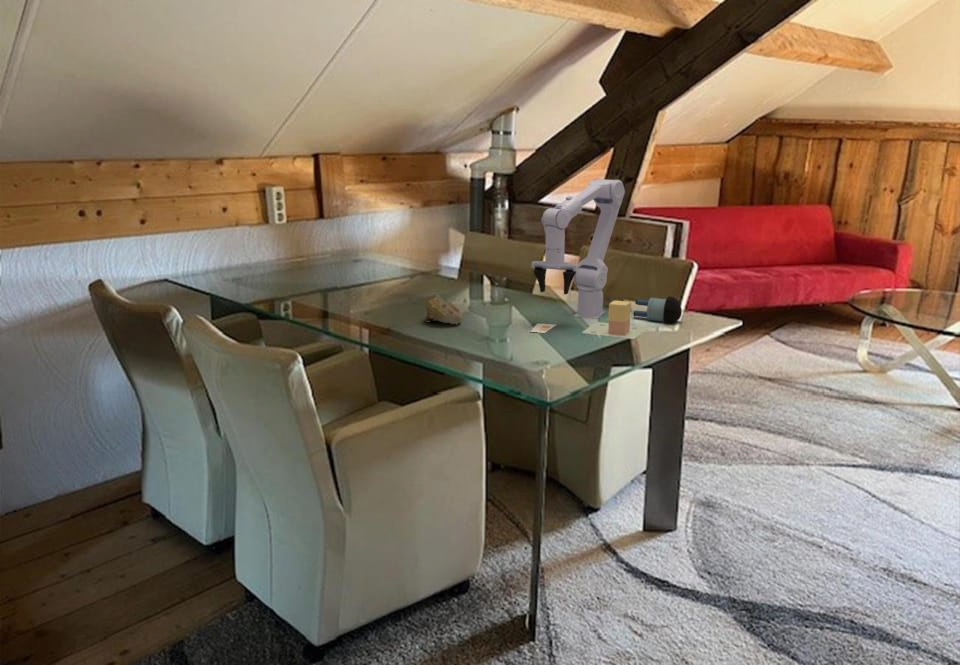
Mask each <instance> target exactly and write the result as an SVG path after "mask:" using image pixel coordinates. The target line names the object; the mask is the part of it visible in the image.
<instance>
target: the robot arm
mask: <svg viewBox="0 0 960 665" xmlns="http://www.w3.org/2000/svg"><path fill="white" fill-rule="evenodd" d="M625 193H626V190H625V187H624V183H623V181H622V180H620V179H604V178H603V179H602V178H601V179H600V178H594V179H593V180H592V181H589V183H588V185H587V187H586V188H584V189H583V190H582V191H581V192H580V193H579V194H576V196H572V195H571V196H570V195H567V196H566V197H565V199H564V200H563V201H562V202H560V203H557V204H556V205H555V207H553V208H551V207H550V208H547V209H546V210H544V211H543V213H542V214H543V215H542V217H541V224H542V225H543V231H544V233H545V261H541V260H533V261H531V269H533V273H534V274H533V275H534V276H535V277H536V279H537V283H538V286H539V290H540V293H544V292H546V277H547V271H548V270H555V271H557V270H558V271H563V272H562V276H563V277H562V278H563V295H568V294H569V290H570V287H571V284H572V281H573V283H574V285H575V286H576V289H578V290H577V294H578V295H577V296H578V297H577V312H576V313H574V314H573V317H577V318H586V319H587V318H588V319H594V320H595V319H598V318H600V317H601V316H603V315H604V314H606V311H604V309H603V308H604V292H603V289H604V287H605V286H606V284H607V280H608V277H607V276H608V271H609V268H608V266H607V265H606V263H604V260H605V256H606V254H607V251H608V247H609V244H610V240H611V238H612V233H613V231H614V227H615V225H616V221H617V218H618V214H619V212H620V208H621V205H622V203H623V199H624V197H625ZM591 201H594V203H595V205H596V206H597V207H598V208H599V209H600V213H599V217H598V220H597V222H596V227H595V230H594V232H593V236H592V240H591V242H590V245H589V246H590V247H589V249H588V253H587V256H586V257H585V258H584V259H582V260H580V261H579V262H578V263H571V262H565V249H566V248H565V244H566V243H565V242H566V240H565V238H566V237H565V235H566V228H567V227H568V226H569V224H570V222H571V220H572V219H574V217H576V216H577V215H578V214H580V213H581V212H582V210H583V207H584V206H585V205H587V204H589V203H590V202H591Z"/></svg>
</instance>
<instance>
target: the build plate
mask: <svg viewBox="0 0 960 665" xmlns="http://www.w3.org/2000/svg"><path fill="white" fill-rule="evenodd" d="M647 328H648V327H647V326H639V325H631V324H630V331H629V332H628V333H627V334H626V335H617V334H609V333H608V329H609V322H602V321H595V322H594V323H592V324H591V325H590V326H588V327H586V328H585V330H583V331H582V332H581V334H588V335H598V336H605V337H606V336H607V337H615V338H622V339H631V340H635V339H636V338H637V337H638V336H639V335H640V334H642V333H643V332H644V331H645V330H646V329H647Z"/></svg>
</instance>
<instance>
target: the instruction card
mask: <svg viewBox="0 0 960 665" xmlns="http://www.w3.org/2000/svg"><path fill="white" fill-rule="evenodd" d="M556 326H557V324H552V323H551V324H549V323H536V324H535V325H534V326H533V328H532V329H531V330H530V331H529V332H537V333H536V334H546V332H548V331H550V330H551V329H553V328H554V327H556Z"/></svg>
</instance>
